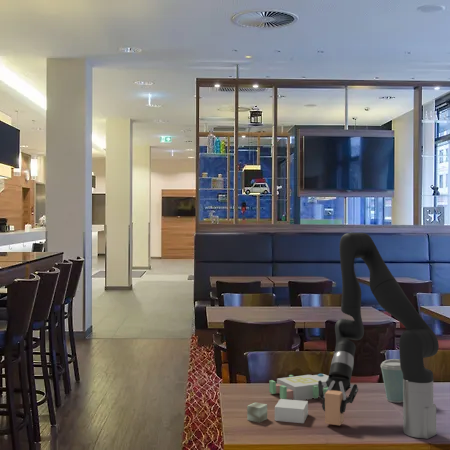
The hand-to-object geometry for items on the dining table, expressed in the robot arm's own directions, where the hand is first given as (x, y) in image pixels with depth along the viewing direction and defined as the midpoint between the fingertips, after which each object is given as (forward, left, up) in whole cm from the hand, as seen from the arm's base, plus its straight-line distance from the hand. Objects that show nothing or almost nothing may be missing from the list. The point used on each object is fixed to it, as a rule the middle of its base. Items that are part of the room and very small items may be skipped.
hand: (333, 411), depth 192 cm
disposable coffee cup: (+1, -42, -5) cm, 42 cm away
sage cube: (+23, +12, -5) cm, 26 cm away
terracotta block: (+1, -2, -4) cm, 5 cm away
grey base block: (+16, +2, -5) cm, 17 cm away
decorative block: (+31, -25, -6) cm, 40 cm away
